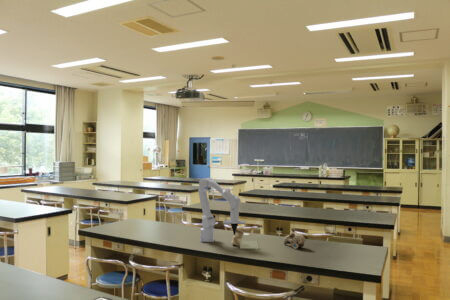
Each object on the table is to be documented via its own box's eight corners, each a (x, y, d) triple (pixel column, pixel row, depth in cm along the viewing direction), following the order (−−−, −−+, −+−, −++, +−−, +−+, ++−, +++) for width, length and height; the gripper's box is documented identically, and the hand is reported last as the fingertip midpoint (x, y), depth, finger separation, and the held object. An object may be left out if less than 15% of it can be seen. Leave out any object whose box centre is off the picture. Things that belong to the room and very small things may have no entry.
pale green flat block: (239, 248, 225) (240, 246, 225) (238, 240, 245) (238, 238, 245) (259, 248, 225) (259, 246, 225) (256, 241, 245) (256, 239, 245)
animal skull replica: (288, 243, 240) (288, 229, 240) (308, 249, 227) (308, 233, 227) (280, 245, 235) (280, 230, 235) (300, 251, 222) (300, 235, 222)
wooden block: (231, 243, 231) (236, 230, 232) (231, 240, 239) (236, 228, 240) (238, 246, 231) (243, 233, 231) (238, 243, 239) (243, 230, 239)
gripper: (223, 215, 232) (223, 236, 232) (245, 216, 232) (245, 236, 231) (223, 213, 239) (223, 233, 239) (245, 214, 239) (244, 234, 238)
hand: (234, 234), depth 235 cm, fingers closed, pressing on wooden block
